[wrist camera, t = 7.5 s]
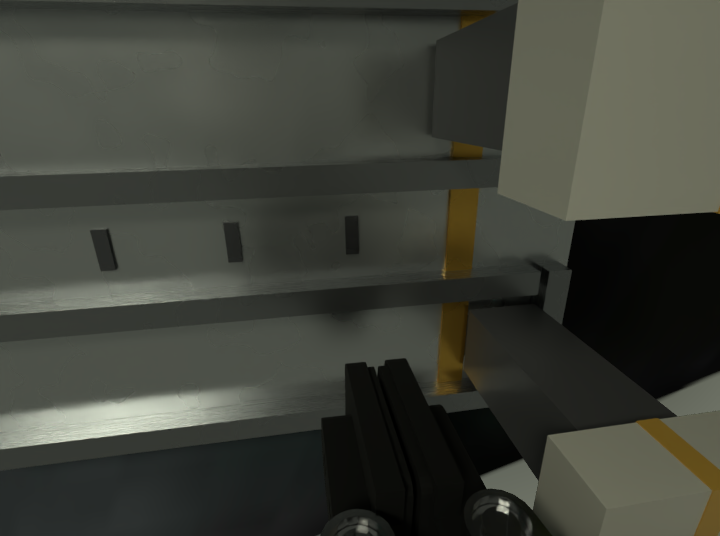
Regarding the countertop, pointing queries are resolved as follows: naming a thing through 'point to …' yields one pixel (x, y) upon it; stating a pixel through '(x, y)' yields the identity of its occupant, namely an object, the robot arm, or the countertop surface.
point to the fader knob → (593, 432)
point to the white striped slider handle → (590, 104)
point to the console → (238, 219)
